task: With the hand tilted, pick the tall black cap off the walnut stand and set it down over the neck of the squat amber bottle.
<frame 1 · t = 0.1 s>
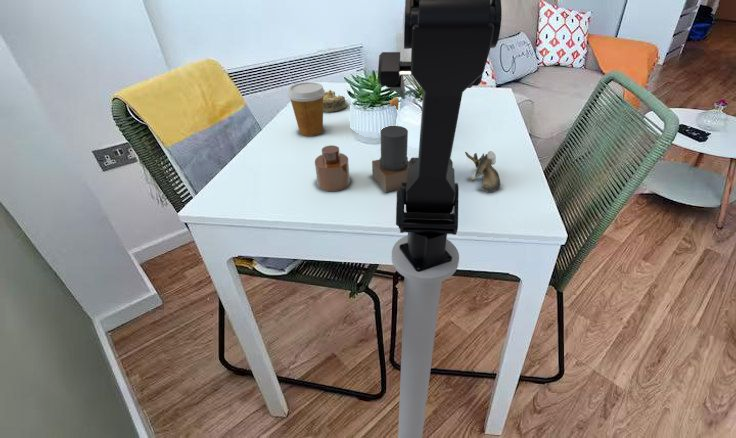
hand: (426, 97, 77), 16 cm above the table, tool tilted 35°, fingers open, 9 cm apart
stand: (393, 180, 82), on the table
bottle: (333, 182, 82), on the table
supplement box: (389, 136, 100), on the table
cap: (393, 164, 79), point 4 cm above the table, touching stand
cake: (332, 107, 118), on the table
disposable coffee cup: (311, 132, 104), on the table
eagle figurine: (481, 181, 81), on the table
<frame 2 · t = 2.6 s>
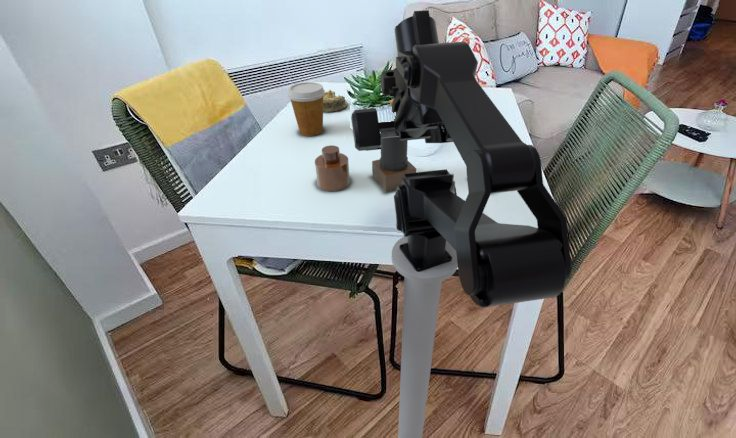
hand: (401, 142, 69), 12 cm above the table, tool tilted 45°, fingers open, 9 cm apart
nothing on the table moved.
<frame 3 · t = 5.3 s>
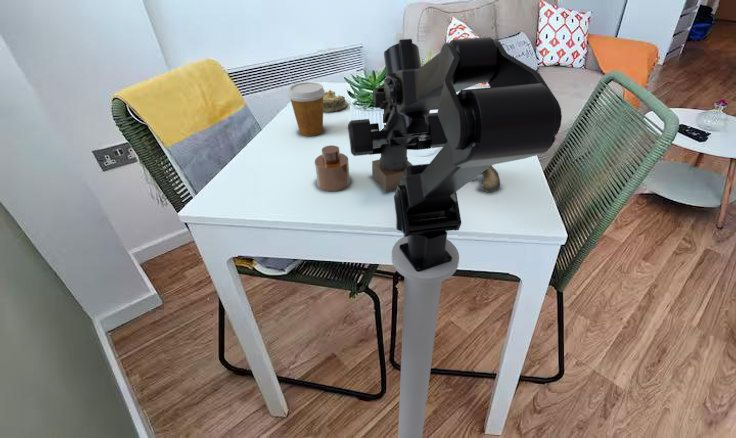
hand: (392, 148, 78), 7 cm above the table, tool tilted 45°, fingers closed on cap, 5 cm apart
cap: (393, 164, 79), point 4 cm above the table, touching gripper, stand
everything else where it was.
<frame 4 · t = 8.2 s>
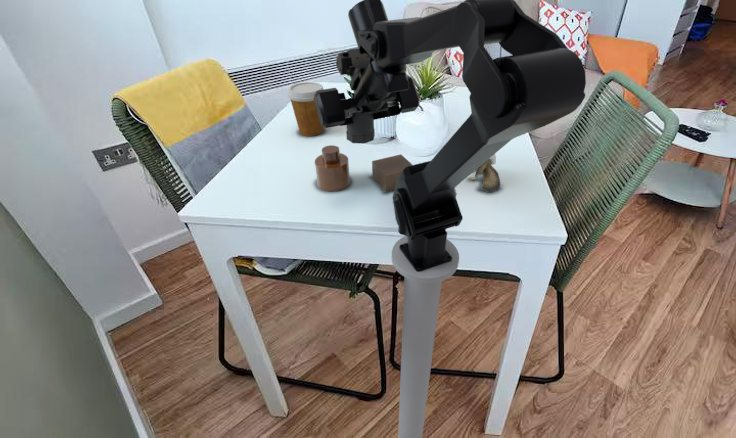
hand: (357, 120, 76), 13 cm above the table, tool tilted 45°, fingers closed on cap, 5 cm apart
cap: (360, 137, 76), point 10 cm above the table, touching gripper
everything else where it was.
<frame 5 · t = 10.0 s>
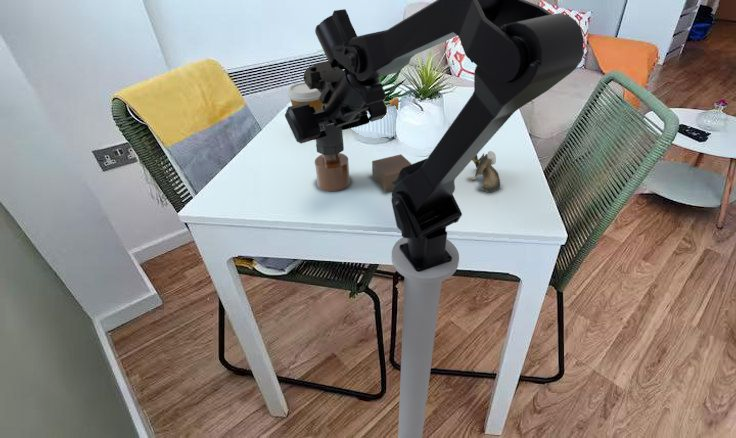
hand: (325, 132, 76), 11 cm above the table, tool tilted 45°, fingers closed on cap, 5 cm apart
cap: (330, 148, 77), point 8 cm above the table, touching gripper
everything else where it was.
when the fingers open (9 cm above the table, at t = 11.1 s): cap stays where it is, resting on bottle.
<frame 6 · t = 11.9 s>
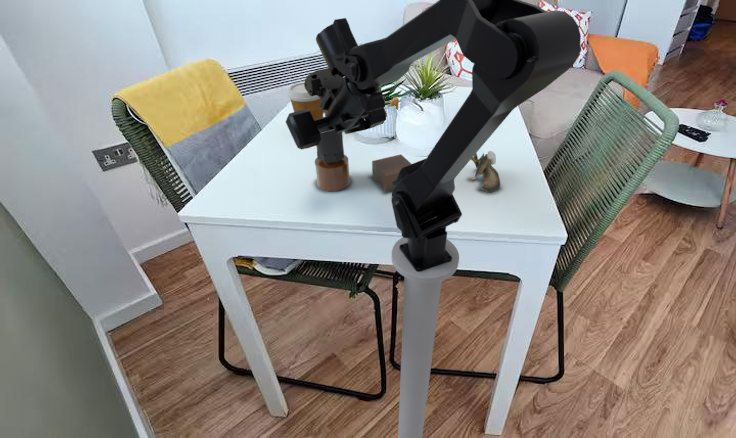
hand: (325, 137, 77), 10 cm above the table, tool tilted 45°, fingers open, 9 cm apart
cap: (330, 156, 78), point 6 cm above the table, touching bottle
everything else where it was.
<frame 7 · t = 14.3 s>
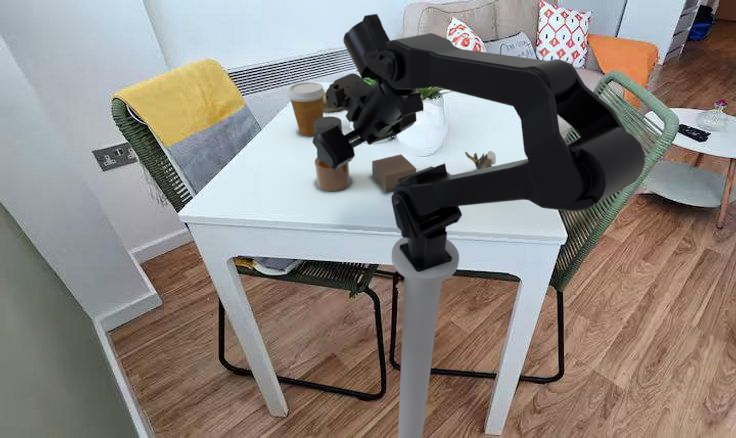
hand: (352, 151, 70), 11 cm above the table, tool tilted 40°, fingers open, 9 cm apart
nothing on the table moved.
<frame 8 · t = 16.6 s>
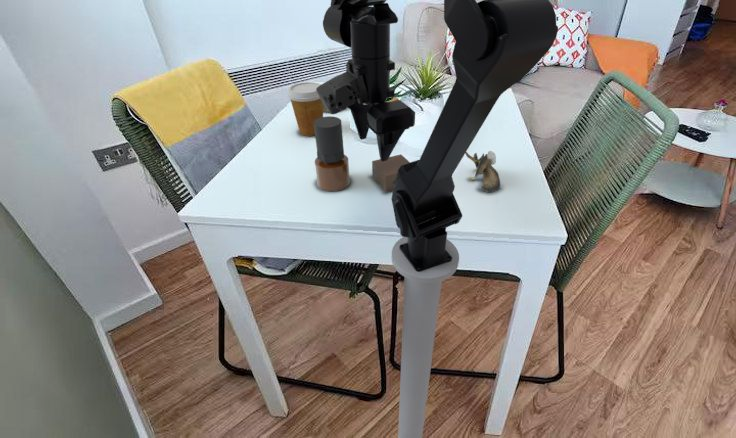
hand: (372, 149, 66), 13 cm above the table, tool pointing down, fingers open, 9 cm apart
nothing on the table moved.
at the end: cap 0.1 cm off-centre on the bottle, point 6.4 cm above the bottle's base; cap tilted 0°; the gripper is holding nothing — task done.
